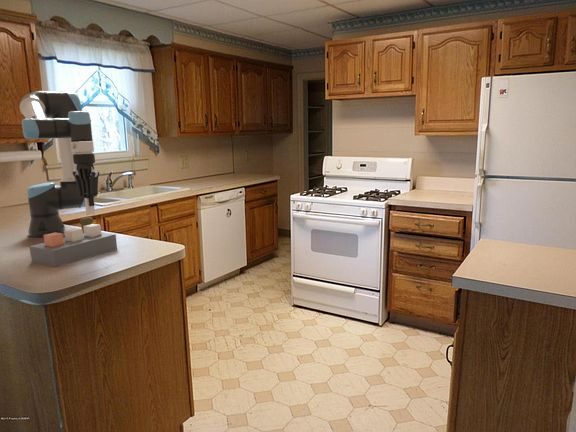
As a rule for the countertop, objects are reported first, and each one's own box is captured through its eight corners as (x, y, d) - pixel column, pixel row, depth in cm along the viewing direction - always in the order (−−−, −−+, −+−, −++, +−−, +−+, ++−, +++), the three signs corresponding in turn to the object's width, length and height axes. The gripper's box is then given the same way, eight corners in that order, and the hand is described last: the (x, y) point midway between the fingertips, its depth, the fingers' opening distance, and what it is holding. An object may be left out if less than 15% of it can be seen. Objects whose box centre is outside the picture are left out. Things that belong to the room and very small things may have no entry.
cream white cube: (65, 240, 162) (64, 230, 161) (76, 238, 165) (74, 227, 165) (72, 241, 159) (71, 231, 159) (83, 239, 163) (82, 228, 162)
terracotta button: (44, 245, 155) (43, 235, 154) (56, 242, 158) (55, 232, 158) (52, 247, 153) (50, 236, 152) (63, 244, 156) (62, 233, 156)
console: (31, 262, 156) (29, 246, 155) (94, 245, 178) (92, 230, 177) (55, 267, 149) (53, 250, 148) (117, 248, 171) (115, 234, 170)
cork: (92, 239, 187) (89, 215, 185) (99, 241, 183) (96, 216, 181) (78, 242, 182) (75, 217, 180) (85, 245, 178) (82, 219, 176)
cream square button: (84, 235, 168) (83, 226, 168) (94, 233, 172) (93, 223, 171) (91, 237, 166) (90, 226, 166) (101, 234, 170) (100, 224, 169)
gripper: (63, 153, 163) (71, 214, 167) (85, 153, 157) (93, 217, 161) (81, 152, 169) (88, 211, 174) (103, 152, 163) (110, 213, 167)
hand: (90, 214), depth 167 cm, fingers closed
